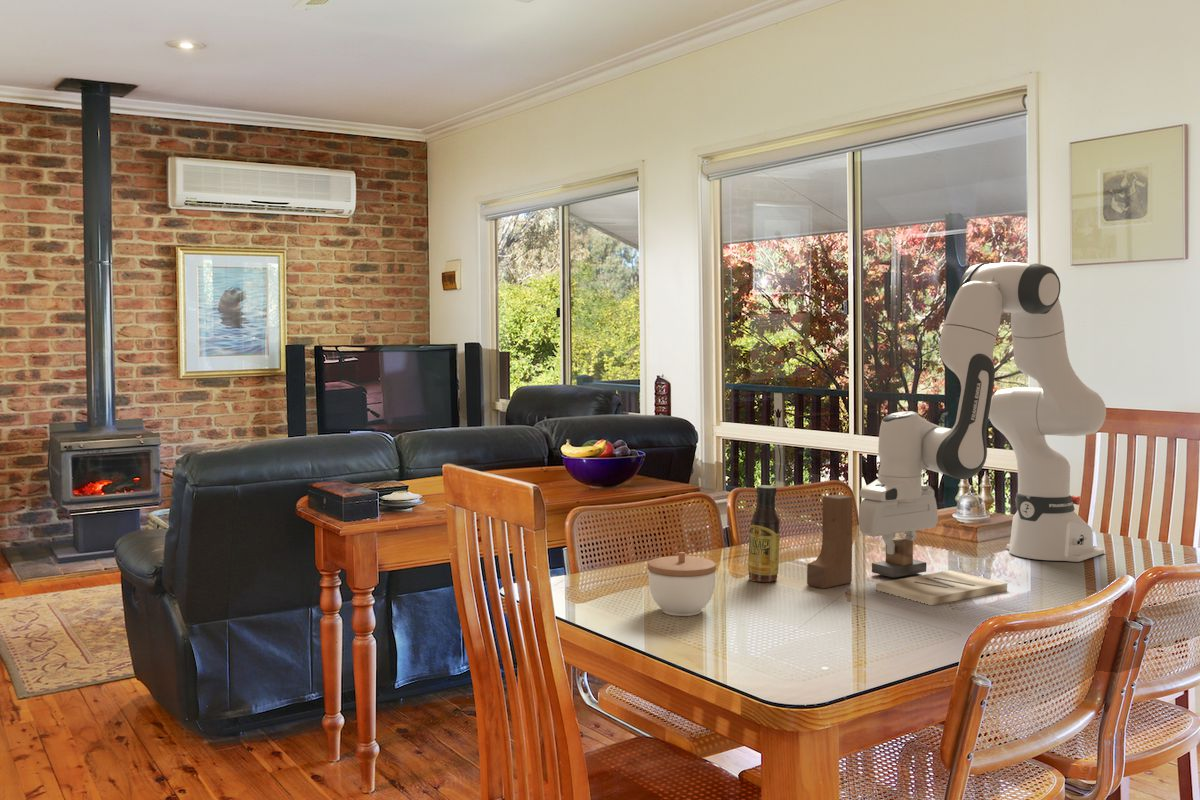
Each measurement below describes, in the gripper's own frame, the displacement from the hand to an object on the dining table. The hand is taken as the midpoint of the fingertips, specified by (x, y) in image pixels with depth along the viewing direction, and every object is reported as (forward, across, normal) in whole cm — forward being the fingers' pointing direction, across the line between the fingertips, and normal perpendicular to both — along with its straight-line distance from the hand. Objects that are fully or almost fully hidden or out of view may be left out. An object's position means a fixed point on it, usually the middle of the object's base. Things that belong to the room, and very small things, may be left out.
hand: (899, 552), depth 223 cm
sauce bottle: (+5, +27, -12) cm, 30 cm away
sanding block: (+4, 0, 0) cm, 4 cm away
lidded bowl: (+5, +56, 0) cm, 57 cm away
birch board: (+5, +3, +14) cm, 15 cm away
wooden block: (+5, +18, -2) cm, 19 cm away
